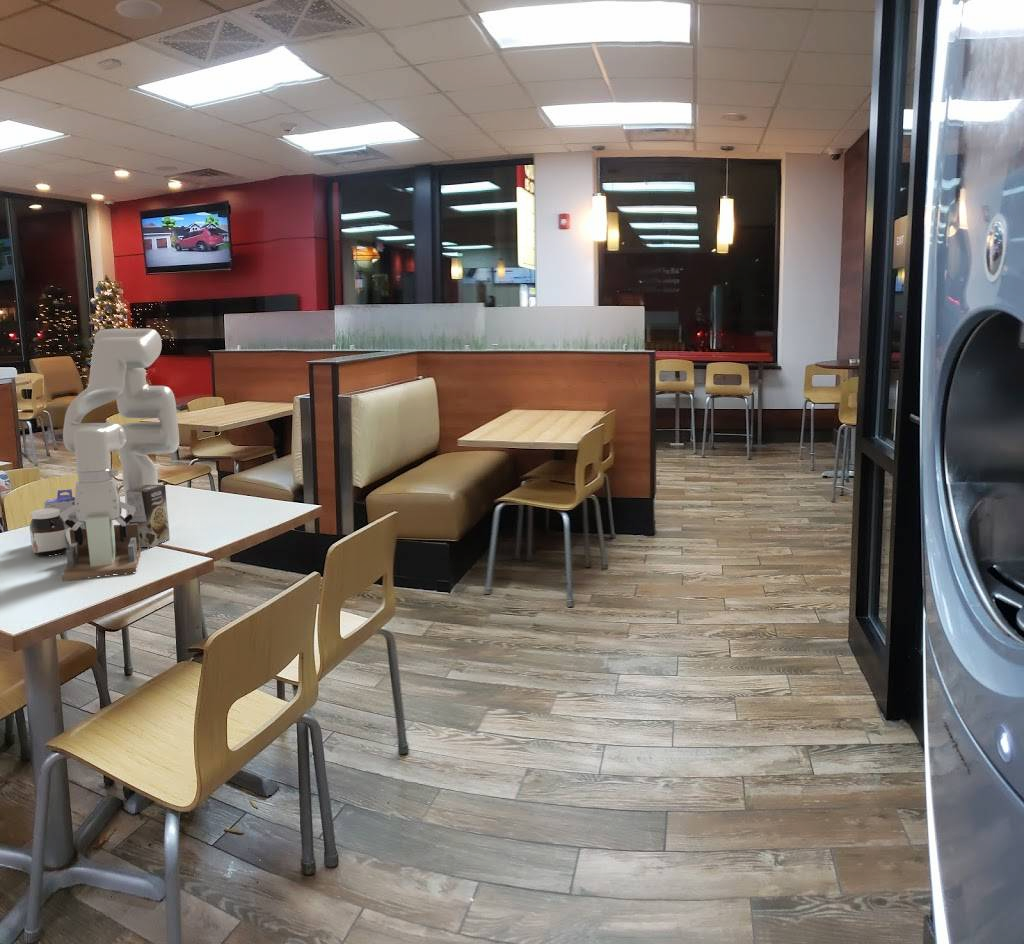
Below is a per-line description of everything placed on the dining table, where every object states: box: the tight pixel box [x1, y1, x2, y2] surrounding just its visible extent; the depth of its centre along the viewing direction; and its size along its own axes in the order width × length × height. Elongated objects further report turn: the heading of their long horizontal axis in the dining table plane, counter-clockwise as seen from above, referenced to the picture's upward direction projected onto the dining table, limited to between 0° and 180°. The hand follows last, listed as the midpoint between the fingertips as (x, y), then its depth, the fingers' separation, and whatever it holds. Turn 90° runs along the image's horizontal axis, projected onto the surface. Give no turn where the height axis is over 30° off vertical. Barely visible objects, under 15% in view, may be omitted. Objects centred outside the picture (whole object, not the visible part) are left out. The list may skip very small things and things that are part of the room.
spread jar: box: [29, 508, 72, 557], centre depth 217 cm, size 12×11×12 cm
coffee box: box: [126, 484, 171, 549], centre depth 225 cm, size 9×6×16 cm
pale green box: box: [86, 516, 117, 566], centre depth 205 cm, size 10×5×12 cm, turn 21°
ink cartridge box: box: [44, 489, 86, 543], centre depth 228 cm, size 10×6×14 cm, turn 112°
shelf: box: [61, 523, 142, 582], centre depth 204 cm, size 18×16×8 cm
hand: (101, 542), depth 205 cm, fingers open, 9 cm apart
